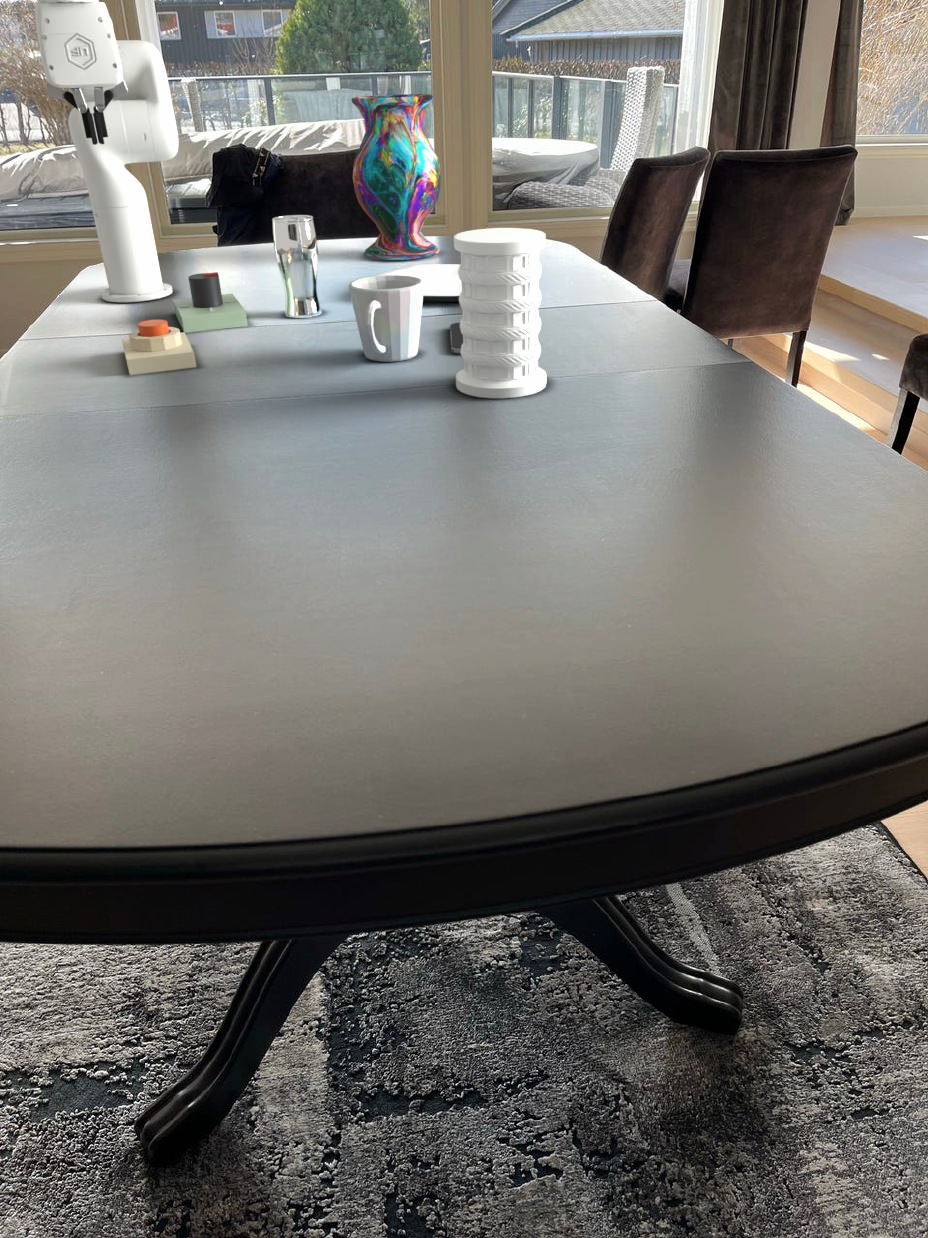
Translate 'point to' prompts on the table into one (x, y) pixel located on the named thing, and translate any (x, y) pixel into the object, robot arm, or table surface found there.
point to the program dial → (205, 290)
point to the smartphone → (456, 338)
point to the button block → (158, 352)
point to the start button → (153, 328)
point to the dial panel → (210, 315)
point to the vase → (396, 174)
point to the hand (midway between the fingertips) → (98, 143)
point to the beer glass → (297, 263)
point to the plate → (434, 280)
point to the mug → (388, 315)
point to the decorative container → (500, 312)
